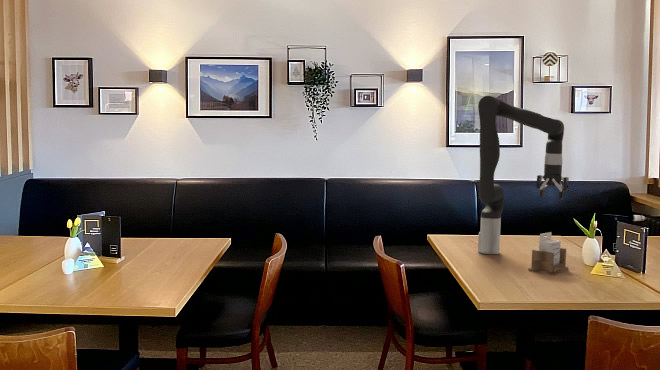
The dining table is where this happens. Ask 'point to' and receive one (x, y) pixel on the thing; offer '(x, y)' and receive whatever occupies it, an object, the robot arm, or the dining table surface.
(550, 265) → the holder
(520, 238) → the dining table surface
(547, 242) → the ink box
